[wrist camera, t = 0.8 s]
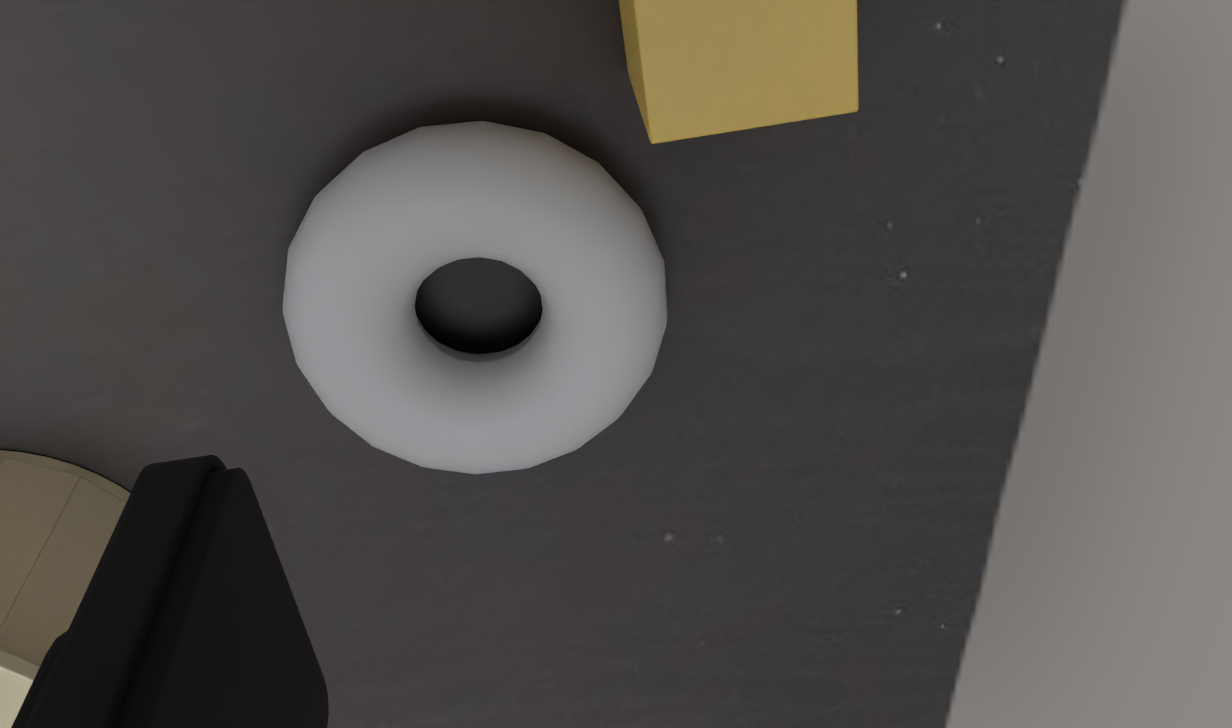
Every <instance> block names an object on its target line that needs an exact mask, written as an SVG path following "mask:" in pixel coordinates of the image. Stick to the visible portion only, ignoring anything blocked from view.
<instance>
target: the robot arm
mask: <svg viewBox="0 0 1232 728" xmlns="http://www.w3.org/2000/svg"><path fill="white" fill-rule="evenodd" d="M327 724H328V694H327V688H326V683H325V680H324V677H323V674H322V671H321V669H320V666H319V663H318V661H317V658H316V655H315V653H314V650H313V647H312V645H311V642H310V639H309V637H308V634H307V631H306V629H305V626H304V623H303V621H302V618H301V615H300V613H299V610H298V607H297V605H296V602H295V599H294V597H293V594H292V591H291V589H290V586H289V583H288V581H287V578H286V575H285V573H284V570H283V567H282V565H281V562H280V559H279V557H278V554H277V551H276V549H275V546H274V543H273V541H272V538H271V535H270V533H269V530H268V527H267V525H266V522H265V519H264V517H263V514H262V511H261V509H260V506H259V503H258V501H257V498H256V495H255V493H254V490H253V487H252V485H251V482H250V480H249V478H248V476H247V474H246V473H245V471H244V470H243V469H240V468H234V469H228V470H227V469H226V467H225V465H224V463H223V462H222V461H221V460H220V459H219V458H218V457H217V456H214V455H208V456H201V457H195V458H188V459H181V460H174V461H167V462H161V463H154V464H150V465H147V466H145V467H144V468H143V470H142V471H141V473H140V474H139V476H138V478H137V481H136V483H135V485H134V487H133V489H132V491H131V494H130V496H129V498H128V500H127V502H126V505H125V507H124V509H123V511H122V513H121V515H120V518H119V520H118V522H117V524H116V526H115V529H114V531H113V533H112V535H111V537H110V539H109V542H108V544H107V546H106V548H105V550H104V553H103V555H102V557H101V559H100V561H99V564H98V566H97V568H96V570H95V572H94V574H93V577H92V579H91V581H90V583H89V585H88V588H87V590H86V592H85V594H84V596H83V598H82V601H81V603H80V605H79V607H78V609H77V612H76V614H75V616H74V618H73V620H72V622H71V625H70V627H69V629H68V630H67V631H66V632H64V633H63V634H61V635H60V636H59V637H57V638H56V639H55V641H54V642H53V644H52V645H51V647H50V648H49V650H48V651H47V653H46V655H45V657H44V659H43V661H42V663H41V665H40V668H39V670H38V672H37V674H36V676H35V678H34V680H33V682H32V685H31V687H30V689H29V691H28V693H27V695H26V697H25V699H24V702H23V704H22V706H21V708H20V710H19V712H18V714H17V717H16V719H15V721H14V723H13V725H12V727H11V728H327Z"/></svg>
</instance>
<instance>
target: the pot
mask: <svg viewBox="0 0 1232 728" xmlns="http://www.w3.org/2000/svg"><path fill="white" fill-rule="evenodd" d="M130 494H131V493H130V492H128V491H126V490H125V489H123V488H122V487H120V486H119V485H117V484H115V483H113V482H111V481H109V480H107V479H106V478H104V477H102V476H100V475H98V474H96V473H93V472H91V471H88V470H86V469H83V468H81V467H78V466H76V465H73V464H70V463H67V462H63V461H60V460H56V459H53V458H50V457H45V456H40V455H35V454H29V453H24V452H15V451H5V450H0V650H3V651H6V652H9V653H11V654H13V655H16V656H18V657H20V658H23V659H25V660H27V661H30V662H32V663H34V664H36V665H38V666H40V665H41V663H42V661H43V659H44V657H45V655H46V653H47V651H48V650H49V648H50V647H51V645H52V644H53V642H54V641H55V639H56V638H57V637H59V636H60V635H61V634H63V633H64V632H66V631H67V630H68V629H69V627H70V625H71V622H72V620H73V618H74V616H75V614H76V612H77V609H78V607H79V605H80V603H81V601H82V598H83V596H84V594H85V592H86V590H87V588H88V585H89V583H90V581H91V579H92V577H93V574H94V572H95V570H96V568H97V566H98V564H99V561H100V559H101V557H102V555H103V553H104V550H105V548H106V546H107V544H108V542H109V539H110V537H111V535H112V533H113V531H114V529H115V526H116V524H117V522H118V520H119V518H120V515H121V513H122V511H123V509H124V507H125V505H126V502H127V500H128V498H129V496H130Z"/></svg>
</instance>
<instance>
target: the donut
mask: <svg viewBox="0 0 1232 728" xmlns="http://www.w3.org/2000/svg"><path fill="white" fill-rule="evenodd" d="M476 257H482V258H488V259H494V260H499V261H503V262H505V263H507V264H509V265H511V266H513V267H515V268H517V269H519V270H521V271H522V272H523V273H524V274H525V275H526V276H527V277H528V278H529V279H530V280H531V281H532V282H533V283H534V284H535V285H536V287H537V289H538V291H539V293H540V295H541V301H542V309H543V311H542V315H541V320H540V321H539V323H538V324H537V326H536V327H535V329H534V330H533V332H532V333H531V335H529V336H528V337H527V338H526V339H524V340H523V341H522V342H521V343H519V344H518V345H516V346H514V347H511V348H509V349H506V350H504V351H501V352H494V353H485V354H474V353H467V352H461V351H456V350H454V349H451V348H449V347H447V346H445V345H443V344H441V343H438V342H437V341H436V340H435V339H434V338H433V337H432V336H430V335H429V334H428V333H427V332H426V331H425V329H424V328H423V326H422V324H421V322H420V321H419V319H418V317H417V316H416V312H415V301H416V295H417V290H418V288H419V287H420V285H421V283H422V281H423V280H424V279H426V278H427V277H428V276H429V275H430V274H432V273H433V272H434V271H435V270H436V269H437V268H439V267H441V266H444V265H446V264H448V263H451V262H453V261H455V260H458V259H467V258H476ZM283 315H284V319H285V323H286V327H287V330H288V334H289V338H290V341H291V345H292V349H293V353H294V356H295V360H296V364H297V365H298V367H299V368H300V370H301V371H302V373H303V374H304V376H305V377H306V379H307V380H308V381H309V383H310V384H311V386H312V387H313V389H314V390H315V392H316V393H317V395H318V396H319V398H320V399H321V401H322V402H323V403H324V405H325V406H326V408H327V409H328V410H329V411H330V413H331V414H332V415H334V416H335V417H336V418H337V419H339V420H340V421H341V422H343V423H344V424H345V425H346V426H348V427H349V428H350V429H351V430H353V431H354V432H355V433H356V434H358V435H359V436H360V437H362V438H363V439H364V440H365V441H367V442H368V443H369V444H370V445H372V446H373V447H375V448H378V449H380V450H383V451H385V452H387V453H390V454H392V455H395V456H397V457H399V458H402V459H404V460H407V461H409V462H411V463H414V464H416V465H419V466H421V467H426V468H433V469H441V470H448V471H455V472H462V473H469V474H483V473H491V472H500V471H509V470H518V469H527V468H530V467H533V466H535V465H538V464H541V463H543V462H546V461H548V460H551V459H554V458H556V457H559V456H561V455H564V454H566V453H569V452H572V451H574V450H577V449H578V448H579V447H581V446H582V445H583V444H585V443H586V442H587V441H589V440H590V439H591V438H593V437H594V436H595V435H597V434H598V433H599V432H601V431H602V430H603V429H605V428H606V427H607V426H609V425H610V424H611V423H613V422H614V421H615V420H617V419H618V418H619V417H620V416H621V415H622V413H623V412H624V411H625V409H626V408H627V406H628V405H629V404H630V402H631V401H632V399H633V398H634V397H635V395H636V394H637V393H638V391H639V390H640V388H641V387H642V386H643V384H644V383H645V381H646V380H647V379H648V377H649V376H650V375H651V373H652V371H653V368H654V364H655V361H656V358H657V354H658V351H659V348H660V344H661V341H662V338H663V335H664V331H665V328H666V325H667V299H666V281H665V263H664V260H663V258H662V255H661V253H660V251H659V248H658V246H657V244H656V241H655V239H654V237H653V234H652V232H651V230H650V228H649V225H648V223H647V221H646V218H645V216H644V214H643V211H642V210H641V209H640V207H639V206H638V205H637V204H636V203H635V202H634V200H633V199H632V198H631V197H630V196H629V195H628V194H627V193H626V192H625V191H624V190H623V189H622V187H621V186H620V185H619V184H618V183H617V182H616V181H615V180H614V179H613V178H612V177H611V176H610V175H609V173H608V172H607V171H606V170H605V169H604V168H603V167H602V166H601V165H600V164H599V163H598V162H596V161H594V160H593V159H591V158H589V157H587V156H585V155H584V154H582V153H580V152H578V151H576V150H575V149H573V148H571V147H569V146H567V145H566V144H564V143H562V142H560V141H558V140H556V139H555V138H553V137H551V136H549V135H547V134H546V133H541V132H536V131H532V130H527V129H522V128H517V127H512V126H507V125H502V124H497V123H492V122H487V121H475V122H465V123H455V124H445V125H435V126H426V127H419V128H417V129H414V130H412V131H410V132H407V133H405V134H403V135H401V136H398V137H396V138H394V139H391V140H389V141H387V142H385V143H382V144H380V145H378V146H375V147H373V148H371V149H369V150H366V151H364V152H362V153H361V154H360V155H359V156H358V157H357V158H356V159H355V160H354V161H353V162H352V163H350V164H349V165H348V166H347V167H346V168H345V169H344V170H343V171H342V172H341V173H340V174H339V175H337V176H336V177H335V178H334V179H333V180H332V181H331V182H330V183H329V184H328V185H327V186H325V187H324V188H323V189H322V190H321V191H320V192H319V193H318V194H317V195H316V196H315V197H314V199H313V201H312V203H311V205H310V207H309V209H308V211H307V213H306V215H305V217H304V219H303V221H302V223H301V225H300V227H299V229H298V231H297V232H296V234H295V236H294V238H293V240H292V242H291V244H290V246H289V248H288V257H287V267H286V276H285V286H284V296H283Z"/></svg>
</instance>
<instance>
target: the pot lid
mask: <svg viewBox="0 0 1232 728" xmlns="http://www.w3.org/2000/svg"><path fill="white" fill-rule="evenodd" d="M39 668H40V666H38V665H36V664H34V663H32V662H30V661H27V660H25V659H23V658H20V657H18V656H16V655H13V654H11V653H9V652H6V651H3V650H0V728H11V727H12V725H13V723H14V721H15V719H16V717H17V714H18V712H19V710H20V708H21V706H22V704H23V702H24V699H25V697H26V695H27V693H28V691H29V689H30V687H31V685H32V682H33V680H34V678H35V676H36V674H37V672H38V670H39Z"/></svg>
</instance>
